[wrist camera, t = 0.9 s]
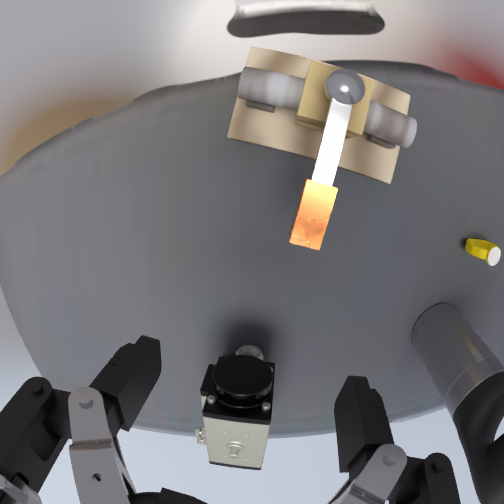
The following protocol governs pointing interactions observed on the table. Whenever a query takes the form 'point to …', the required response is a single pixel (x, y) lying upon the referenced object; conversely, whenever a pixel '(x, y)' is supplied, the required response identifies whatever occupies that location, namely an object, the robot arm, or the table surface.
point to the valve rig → (318, 113)
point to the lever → (326, 160)
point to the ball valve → (237, 409)
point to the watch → (483, 250)
